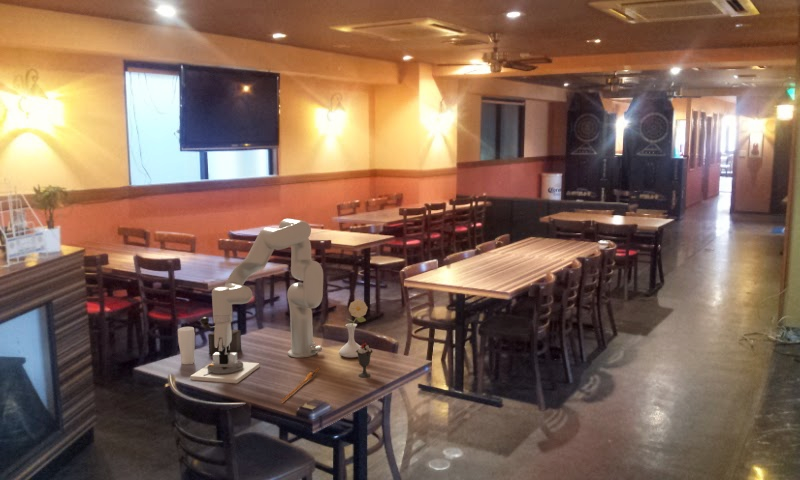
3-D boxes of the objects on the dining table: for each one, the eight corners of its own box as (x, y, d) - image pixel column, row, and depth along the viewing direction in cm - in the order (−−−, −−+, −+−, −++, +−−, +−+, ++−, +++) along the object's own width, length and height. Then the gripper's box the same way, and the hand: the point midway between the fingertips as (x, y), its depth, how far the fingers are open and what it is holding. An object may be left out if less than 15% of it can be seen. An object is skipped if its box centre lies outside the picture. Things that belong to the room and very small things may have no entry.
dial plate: (259, 366, 284) (259, 362, 284) (236, 383, 265) (236, 379, 265) (215, 363, 289) (215, 359, 289) (190, 379, 270) (190, 375, 270)
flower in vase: (336, 359, 293) (334, 302, 289) (341, 351, 304) (340, 296, 300) (366, 360, 291) (365, 303, 287) (370, 352, 302) (369, 296, 298)
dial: (248, 363, 283) (247, 348, 282) (236, 374, 269) (235, 359, 268) (215, 362, 285) (214, 348, 284) (202, 373, 271) (201, 358, 270)
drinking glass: (191, 366, 286) (189, 331, 284) (176, 365, 288) (174, 330, 285) (199, 360, 293) (197, 326, 291) (184, 360, 294) (182, 326, 292)
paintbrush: (279, 406, 245) (279, 399, 244) (317, 370, 278) (317, 364, 277) (283, 407, 244) (282, 400, 244) (320, 371, 277) (320, 364, 277)
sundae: (360, 379, 268) (359, 342, 266) (353, 374, 274) (352, 338, 272) (375, 376, 271) (375, 339, 269) (368, 371, 277) (367, 335, 275)
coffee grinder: (221, 347, 311) (219, 309, 308) (242, 350, 307) (240, 311, 304) (199, 358, 297) (197, 317, 294) (221, 360, 293) (218, 320, 290)
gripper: (218, 312, 282) (220, 355, 285) (207, 323, 266) (210, 369, 268) (236, 312, 282) (239, 355, 285) (227, 323, 266) (229, 368, 268)
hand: (225, 361), depth 277 cm, fingers closed on dial, 3 cm apart
